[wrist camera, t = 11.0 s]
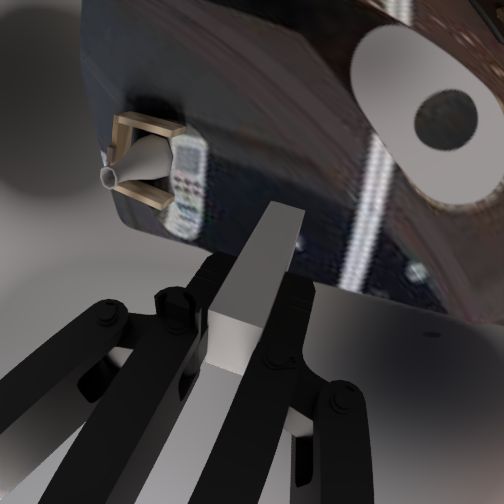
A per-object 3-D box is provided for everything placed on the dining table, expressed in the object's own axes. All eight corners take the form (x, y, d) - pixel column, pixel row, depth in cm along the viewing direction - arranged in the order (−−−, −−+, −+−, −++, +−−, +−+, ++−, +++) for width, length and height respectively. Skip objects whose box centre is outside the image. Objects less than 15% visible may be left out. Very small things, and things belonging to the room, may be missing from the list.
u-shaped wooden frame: (123, 179, 46) (105, 189, 42) (129, 110, 39) (109, 115, 35) (173, 201, 44) (157, 212, 41) (186, 126, 37) (168, 131, 34)
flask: (175, 181, 42) (131, 207, 35) (138, 177, 44) (94, 200, 36) (172, 133, 39) (125, 150, 31) (134, 133, 41) (86, 150, 33)
